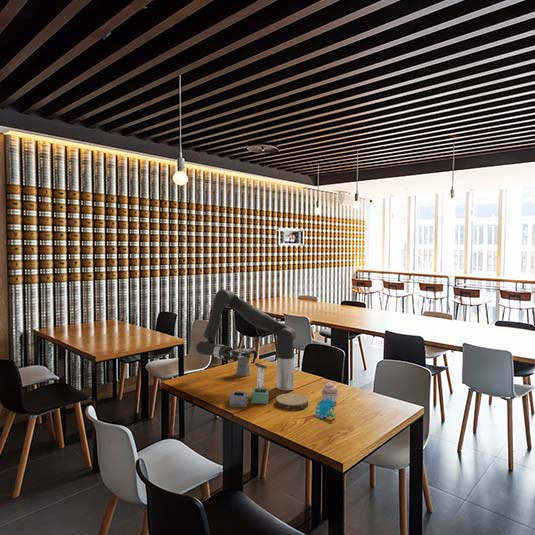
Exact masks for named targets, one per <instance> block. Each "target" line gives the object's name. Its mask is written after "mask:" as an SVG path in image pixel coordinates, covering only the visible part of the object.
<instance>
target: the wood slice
mask: <svg viewBox="0 0 535 535" xmlns="http://www.w3.org/2000/svg"><path fill="white" fill-rule="evenodd" d="M275 405H276V406H277V408H280V409H282V408H283V409H282V410H286V409H287V411H299V410H304V409H307V408H308V407H309V398H308V397H307V396H305V395H303V394H299V393H281V394H279V395H277V396H276V397H275Z"/></svg>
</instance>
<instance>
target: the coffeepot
mask: <svg viewBox="0 0 535 535" xmlns="http://www.w3.org/2000/svg"><path fill="white" fill-rule="evenodd" d="M234 350H236V351H239V350H243V351H247V353H249V354H250V355H251V354H253V358H252V361H250V359H251V357H250V358H246V357H241V358H238V361H237V366H236V367H237V368H236V371H235V372H236V373H235V375H236V376H237V377H240V376H243V377H242V378H245V376H247V377H250V376H251V368H250V364H251V365H255V363H256V359H257V356H258V352H256V350H254V349H249V348H246V345H244V344H243V345H242V348H236V349H235V348H234ZM238 356H240V355H239V354H238ZM249 375H250V376H249Z"/></svg>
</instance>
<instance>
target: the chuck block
mask: <svg viewBox="0 0 535 535" xmlns="http://www.w3.org/2000/svg"><path fill="white" fill-rule="evenodd" d="M248 403H249V391H237V390H232V391H231V393H230V395H229V402H228V404H229V405H228V406H229V408H244V407H246V408H247V406H248Z"/></svg>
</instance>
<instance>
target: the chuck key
mask: <svg viewBox="0 0 535 535" xmlns="http://www.w3.org/2000/svg"><path fill="white" fill-rule="evenodd" d="M254 365H255V367H257V373H256V374H257V376H256V378H257V381H256V385H257V386H256V388H257V392H260V393H263V389H264V388H265V387H264V384H265V382H264V381H265V380H264V379H265V370H266V369H267V368H268V366H267V365H265V364H261V363H258V362H254Z"/></svg>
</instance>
